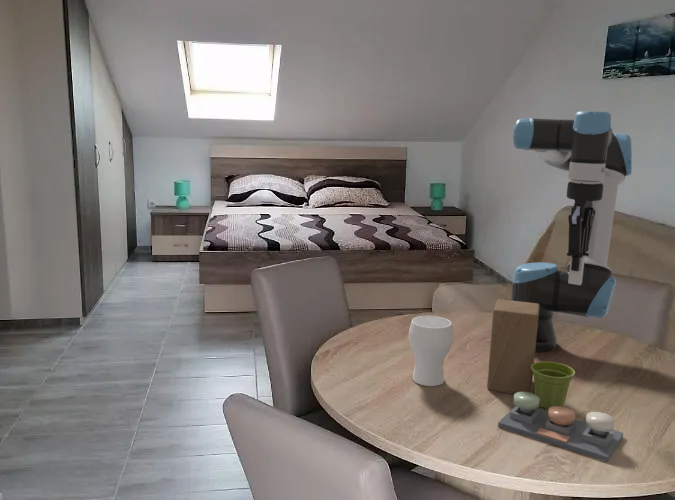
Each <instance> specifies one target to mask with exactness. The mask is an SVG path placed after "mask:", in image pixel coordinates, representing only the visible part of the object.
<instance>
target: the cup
mask: <svg viewBox="0 0 675 500" xmlns="http://www.w3.org/2000/svg"><path fill="white" fill-rule="evenodd" d="M408 329H409V330H408V342H409V345H410V348H411V351H412V354H413V355H414V367H413V368H414V369H413V373H412V381H413V382H414V383H416V384H418V385H421V386H425V387H436V386H441V385H443V384H444V382H445V375H444V374H445V373H444V363H445V360H446V357H447V355H448V354H449V352H450V351H451V348H452V345H453V340H454V329H453V324H452V321H451V320H449V319H447V318H445V317H442V316H438V315H419V316H416V317H413V318H412V319H411V323H410V326H409V328H408Z"/></svg>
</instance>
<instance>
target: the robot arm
mask: <svg viewBox="0 0 675 500" xmlns="http://www.w3.org/2000/svg"><path fill="white" fill-rule="evenodd" d="M611 122H612V114H611V113H610V112H608V111H593V110H592V111H588V110H587V111H586V110H580V111H577V112H576V113H575V115H574V119H555V118H553V119H550V118H547V119H546V118H532V117H530V118H519V119H517V121H515V123H514V128H513V135H512V136H513V140H512V141H513V146H514V148H515V149H516V150H517V149H518V150H523V151H534V152H536V153H537V154H538V155H539V158H541V160H542V161H543V162H544V163H545V164H547V165H549V166H551V167H554V168H556V169H559V170H563V171H565V172H566V171H567V172H568V175H567V179H568V180H570V181H568V182H567V189H566V197H567V198H568V199H569V200H574V204H573V206H572V208H571V209H570V210H571V213H570V214H569V215H568V247H567V250H568V251H567V253H566V256H567V257H570V258H569V259H570V260H569V263H568V264H567V265H566V271H565V270H559V267H558V265H557V264H556V263H552V262H540V261H539V262H529V263H522V264H520V265H517V267H515V269H514V271H513V277H512V278H513V279H512V281H511V283H512V286H511V287H512V288H511V299H510V300H511V301H520V302H529V303H538V304H539V317H538V327H537V338H536V348H535V353H541V352H550V351H552V350H554V349H555V348H556V347H557V342H558V341H557V340H558V338H557V333H556V330H555V326H554V321H553V318H554V317H553V316H554V313H558V314H559V313H561V314H566V315H573V316H580V317H584V318H587V319H588V318H595V319H603V318H605V317H607V314H608V313H609V311H610V307H611V305H612V301H613V299H614V298H613V297H614V294H615V289H616V285H617V278H616V277H615V276H612V273H613V272H612V271H613V270H612V269H611V268H610V267H609V265H608V260H609V252H610V251H609V250H610V245H611V238H612V231H613V223H614V217H615V211H616V210H615V209H616V202H617V196H618V188H619V186H620V185H621V184H623V183H624V182H625V181H626V177H628V176H630V175H632V165H633V164H632V163H633V162H632V139H631V137H630V135H628V134H626V133H616V132H614V131H613V129H612V123H611Z"/></svg>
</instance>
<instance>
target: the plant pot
mask: <svg viewBox="0 0 675 500" xmlns="http://www.w3.org/2000/svg"><path fill="white" fill-rule="evenodd" d="M531 370H532V371H533V382H534V394H535V395H537V396H538V397H539V398H540V400H539V407H540V408H543V409H545V410H547V411H549V408H550V407H553V406H561V407H565V403H566V397H567V394H568V391H569V387H570V383H571V382H572V380H573V377H574V376H575V374H576V371H575V370H574V369H573V368H572V367H570V366H569V365H567V364H564V363H561V362H560V363H559V362H555V361H554V362H553V361H546V360H545V361H536V362H534V363H533V364H532V365H531ZM539 407H538V408H539Z"/></svg>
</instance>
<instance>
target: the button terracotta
mask: <svg viewBox="0 0 675 500" xmlns="http://www.w3.org/2000/svg"><path fill="white" fill-rule="evenodd" d="M547 411H548V419H549V420H550V421H552V422H554V424H557V425H560V426H564V427H567V425H571V424H573V423H574V421H575V419H576V412H575V411H574V410H572V409H571V408H568V407H565V406H563V407H561V406H553V407H550V408H549V410H547Z"/></svg>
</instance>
